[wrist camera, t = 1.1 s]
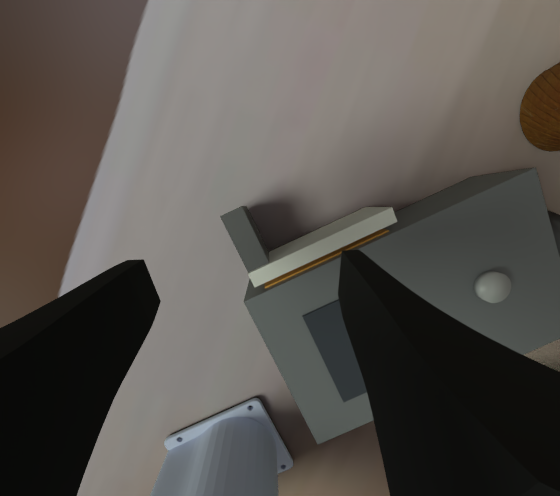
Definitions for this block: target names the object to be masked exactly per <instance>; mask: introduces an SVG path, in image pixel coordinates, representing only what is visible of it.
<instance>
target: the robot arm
mask: <svg viewBox="0 0 560 496" xmlns="http://www.w3.org/2000/svg"><path fill="white" fill-rule="evenodd" d="M338 297H339V302H340V307H341V312H342V317H343V320H344V323H345V327H346V330H347V332H348V335H349V338H350V341H351V344H352V347H353V350H354V353H355V356H356V359H357V362H358V365H359V368H360V371H361V374H362V377H363V380H364V383H365V387H366V390H367V394H368V398H369V402H370V406H371V410H372V415H373V419H374V423H375V427H376V432H377V436H378V441H379V445H380V450H381V454H382V458H383V463H384V468H385V472H386V477H387V482H388V487H389V492H390V496H560V372H558V371H556V370H553V369H551V368H549V367H547V366H545V365H542V364H540V363H538V362H536V361H534V360H532V359H530V358H528V357H526V356H524V355H522V354H520V353H517V352H516V351H514V350H512V349H510V348H508V347H506V346H504V345H502V344H500V343H498V342H496V341H494V340H492V339H490V338H488V337H486V336H484V335H483V334H481V333H479V332H477V331H475V330H474V329H472V328H470V327H468V326H466V325H465V324H463V323H461V322H460V321H458V320H456V319H455V318H453V317H451V316H450V315H448V314H446V313H445V312H443V311H441V310H440V309H438V308H437V307H435V306H433V305H432V304H430V303H429V302H427V301H426V300H425V299H423V298H422V297H420V296H419V295H417V294H416V293H414V292H413V291H411V290H410V289H409V288H407V287H406V286H405V285H403V284H402V283H401V282H399V281H398V280H397V279H395V278H394V277H393V276H391V275H390V274H389V273H388V272H386V271H385V270H384V269H383V268H381V267H380V266H379V265H378V264H376V263H375V262H374V261H373V260H371V259H370V258H369V257H368V256H367V255H365V254H364V253H363V252H361V251H360V250H342V253H341V264H340V276H339V287H338ZM159 304H160V299H159V296H158V294H157V291H156V289H155V286H154V284H153V281H152V279H151V277H150V274H149V272H148V269H147V267H146V264H145V262H144V260H127V261H125V262H122V263H120V264H118V265H116V266H114V267H112V268H110V269H109V270H107V271H105V272H103V273H101V274H99V275H98V276H96V277H94V278H92V279H91V280H89V281H87V282H85V283H84V284H82V285H80V286H78V287H77V288H75V289H73V290H71V291H70V292H68V293H66V294H64V295H63V296H61V297H59V298H57V299H55V300H53V301H52V302H50V303H48V304H46V305H44V306H42V307H40V308H39V309H37V310H35V311H33V312H31V313H29V314H27V315H26V316H24V317H22V318H20V319H18V320H16V321H14V322H12V323H10V324H8V325H6V326H4V327H2V328H0V496H77V493H78V490H79V487H80V484H81V481H82V478H83V475H84V473H85V470H86V467H87V464H88V462H89V459H90V457H91V454H92V451H93V449H94V446H95V443H96V441H97V438H98V436H99V433H100V431H101V428H102V426H103V423H104V421H105V419H106V416H107V414H108V411H109V409H110V407H111V404H112V402H113V400H114V397H115V395H116V393H117V391H118V389H119V387H120V385H121V383H122V381H123V380H124V378H125V376H126V374H127V372H128V370H129V368H130V366H131V365H132V363H133V361H134V359H135V357H136V355H137V353H138V351H139V350H140V348H141V346H142V344H143V342H144V340H145V338H146V336H147V334H148V332H149V330H150V328H151V326H152V324H153V321H154V319H155V316H156V313H157V310H158V307H159ZM250 405H251V406H252V407H249V406H250ZM179 437H181V438H179ZM164 445H165V447H166V448H167V450H168V453H167V455H166V458H165V460H164V463H163V465H162V468H161V470H160V472H159V475H158V477H157V480H156V482H155V485H154V487H153V490H152V492H151V494H150V496H278V474H279V473H281V472H283V471H286V470H288V469H290V468H292V466H293V459H292V457H291V455H290V453H289V452H288V450H287V448H286V446H285V444H284V442H283V441H282V439H281V437H280V435H279V433H278V432H277V430H276V428H275V426H274V424H273V422H272V421H271V419H270V417H269V415H268V413H267V411H266V410H265V408H264V406H263V404H262V402H261V400H260V399H258V398H253V399H251V400H248V401H246V402H244V403H242V404H239V405H237V406H235V407H233V408H231V409H228V410H226V411H224V412H222V413H219V414H217V415H215V416H213V417H210V418H208V419H206V420H204V421H202V422H199V423H197V424H195V425H193V426H190V427H188V428H186V429H184V430H181V431H179V432H177V433H175V434H173V435H170V436H168V437H167V438H166V440H165V442H164Z"/></svg>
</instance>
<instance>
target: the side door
mask: <svg viewBox="0 0 560 496" xmlns="http://www.w3.org/2000/svg"><path fill="white" fill-rule="evenodd" d="M220 217H221V219H222V221H223V223H224V225H225V227H226V229H227V231H228V233H229V235H230V237H231V239H232V241H233V243H234V245H235V247H236V249H237V251H238V253H239V255H240V257H241V259H242V261H243V263H244V265H245V267H246V269H247V271H248V275H249V277H250V279H251V281H252V283H253V285H254V287H257V286H259V285H261V284H264V283H266V282H268V281H270V280H272V279H274V278H277V277H279V276H281V275H283V274H285V273H287V272H290V271H292V270H294V269H296V268H298V267H300V266H303V265H305V264H307V263H309V262H311V261H313V260H316V259H318V258H320V257H322V256H324V255H326V254H329V253H331V252H333V251H335V250H337V249H339V248H341V247H344V246H346V245H348V244H350V243H352V242H354V241H357V240H359V239H361V238H363V237H365V236H367V235H370V234H372V233H374V232H376V231H378V230H380V229H383V228H385V227H387V226H389V225H391V224H393V223H396V222H397V219H396V216H395V214H394V211H393V208H392V207H364V208H362V209H360V210H358V211H356V212H354V213H351V214H349V215H347V216H345V217H343V218H341V219H338V220H336V221H334V222H332V223H330V224H328V225H326V226H323V227H321V228H319V229H317V230H315V231H313V232H311V233H308V234H306V235H304V236H302V237H300V238H298V239H296V240H293V241H291V242H289V243H287V244H285V245H283V246H280V247H278V248H276V249H274V250H272V251H270V252H268V250H267V248H266V246H265V243H264V241H263V239H262V237H261V235H260V233H259V231H258V229H257V227H256V225H255V223H254V221H253V218H252V216H251V214H250V212H249V210H248V208H247V206H241V207H239V208H237V209H235V210H233V211H231V212H228V213H226V214H224V215H222V216H220Z"/></svg>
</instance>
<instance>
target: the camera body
mask: <svg viewBox="0 0 560 496" xmlns="http://www.w3.org/2000/svg"><path fill="white" fill-rule="evenodd" d="M394 214H395V216H396V219H397V222H396V223H393V224H391V225H389V226H387V227H385V228H383V229H380V230H378V231H376V232H374V233H372V234H370V235H367V236H365V237H363V238H361V239H359V240H357V241H354V242H352V243H350V244H348V245H346V246H344V247H341V248H339V249H337V250H335V251H333V252H331V253H329V254H326V255H324V256H322V257H320V258H318V259H316V260H313V261H311V262H309V263H307V264H305V265H303V266H300V267H298V268H296V269H294V270H292V271H290V272H287V273H285V274H283V275H281V276H279V277H277V278H274V279H272V280H270V281H268V282H266V283H264V284H261V285H259V286H257V287H254V285H253V283H252V281H251V279H250V280H249V284H248V287H247V291H246V295H245V299H244V303H245V305H246V307H247V309H248V311H249V313H250V315H251V317H252V319H253V321H254V323H255V325H256V326H257V328H258V330H259V332H260V334H261V336H262V338H263V340H264V342H265V344H266V346H267V348H268V350H269V352H270V353H271V355H272V357H273V359H274V361H275V363H276V365H277V367H278V369H279V371H280V373H281V375H282V377H283V379H284V381H285V382H286V384H287V386H288V388H289V390H290V392H291V394H292V396H293V398H294V400H295V402H296V404H297V406H298V408H299V409H300V411H301V413H302V415H303V417H304V419H305V421H306V423H307V425H308V427H309V429H310V431H311V433H312V435H313V436H314V438H315V440H316V442H317V444H321V443H323V442H325V441H328V440H330V439H332V438H334V437H337V436H339V435H341V434H344V433H346V432H348V431H350V430H353V429H355V428H357V427H359V426H362V425H364V424H366V423H369V422H371V421H373V420H374V419H373V415H372V410H371V406H370V402H369V398H368V394H367V390H366V387H365V383H364V380H363V377H362V374H361V371H360V368H359V365H358V362H357V359H356V356H355V353H354V350H353V347H352V344H351V341H350V338H349V335H348V332H347V330H346V327H345V323H344V320H343V317H342V312H341V307H340V302H339V297H338V287H339V276H340V264H341V253H342V250H360V251H361V252H363V253H364V254H365V255H367V256H368V257H369V258H370V259H371V260H373V261H374V262H375V263H376V264H378V265H379V266H380V267H381V268H383V269H384V270H385V271H386V272H388V273H389V274H390V275H391V276H393V277H394V278H395V279H397V280H398V281H399V282H401V283H402V284H403V285H405V286H406V287H407V288H409V289H410V290H411V291H413V292H414V293H416V294H417V295H419V296H420V297H422V298H423V299H425V300H426V301H427V302H429V303H430V304H432V305H433V306H435V307H437V308H438V309H440V310H441V311H443V312H445V313H446V314H448V315H450V316H451V317H453V318H455V319H456V320H458V321H460V322H461V323H463V324H465V325H466V326H468V327H470V328H472V329H474V330H475V331H477V332H479V333H481V334H483V335H484V336H486V337H488V338H490V339H492V340H494V341H496V342H498V343H500V344H502V345H504V346H506V347H508V348H510V349H512V350H514V351H516V352H517V353H520V354H522V355H523V354H526V353H528V352H530V351H533V350H535V349H537V348H539V347H542V346H544V345H546V344H548V343H551V342H553V341H555V340H558V339H560V215H558V214H556V213H553V212H550V211H547V208H546V204H545V200H544V196H543V193H542V189H541V185H540V181H539V178H538V174H537V170H536V167H535V168H528V169H521V170H515V171H508V172H501V173H494V174H487V175H481V176H474V177H470V178H468V179H466V180H464V181H461V182H459V183H457V184H455V185H453V186H451V187H448V188H446V189H444V190H442V191H440V192H438V193H435V194H433V195H431V196H429V197H427V198H425V199H422V200H420V201H418V202H416V203H414V204H412V205H410V206H407V207H405V208H403V209H401V210H399V211H397V212H394Z"/></svg>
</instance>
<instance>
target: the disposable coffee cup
mask: <svg viewBox="0 0 560 496" xmlns="http://www.w3.org/2000/svg"><path fill="white" fill-rule="evenodd" d="M520 123H521V126H522V130H523V133H524V134H525V136H526V138H527V139H528V140H529V141H530V143H531V144H533V145H534V146H536V147H537V148H539V149H542V150H546V151H559V150H560V62H559V63H558V64H556V65H555V66H553V67H551V68H550V69H548V70H546V71H544V72H543V73H542V74H540V75H539V76H538V77H537V78H536V79H535V80H534V81H533V82H532V83H531V85H530V86H529V88H528V89H527V91H526V93H525V95H524V98H523V100H522V103H521V109H520Z"/></svg>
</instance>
